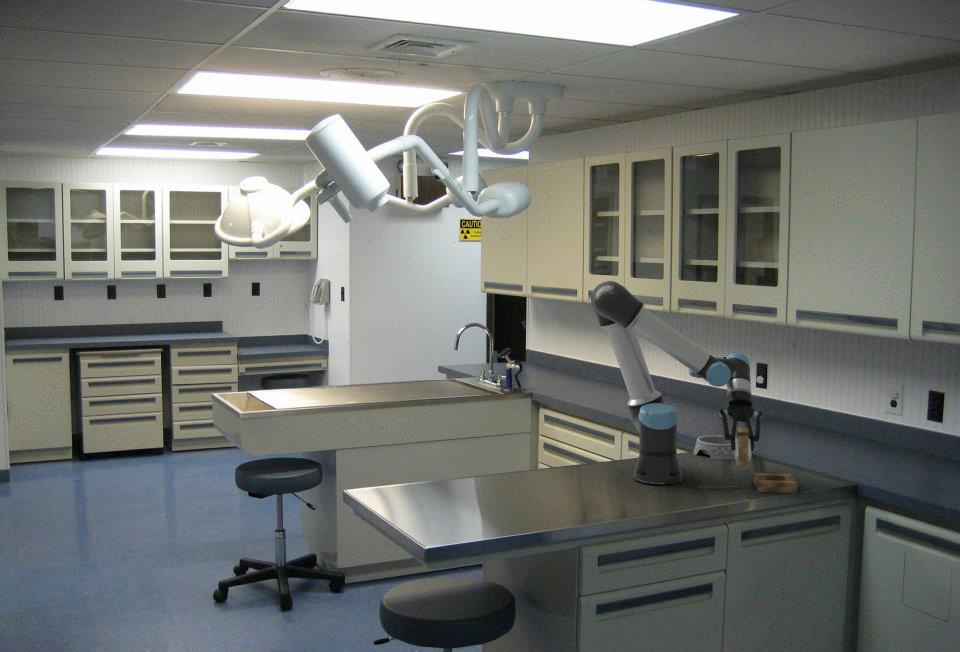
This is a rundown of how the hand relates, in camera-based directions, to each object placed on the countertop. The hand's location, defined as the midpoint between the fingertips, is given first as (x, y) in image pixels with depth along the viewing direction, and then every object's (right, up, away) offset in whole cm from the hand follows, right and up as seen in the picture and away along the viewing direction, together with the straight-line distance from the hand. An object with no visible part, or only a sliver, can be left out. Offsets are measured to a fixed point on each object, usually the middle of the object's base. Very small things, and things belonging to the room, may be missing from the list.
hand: (743, 458), depth 278 cm
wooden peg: (+1, -3, +4) cm, 5 cm away
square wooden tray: (+10, -9, 0) cm, 13 cm away
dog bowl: (+5, -5, +46) cm, 46 cm away
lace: (-7, -9, 0) cm, 12 cm away
